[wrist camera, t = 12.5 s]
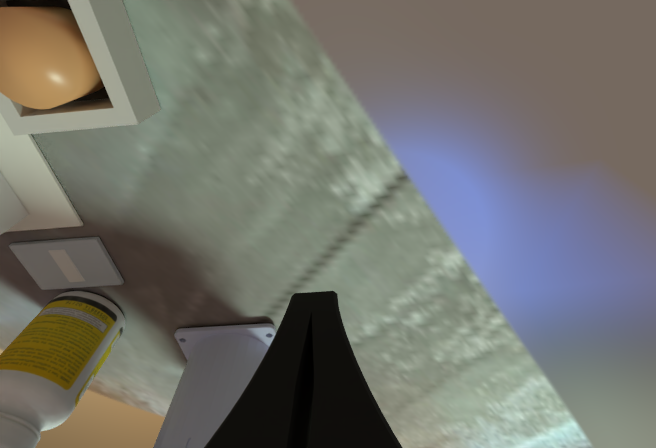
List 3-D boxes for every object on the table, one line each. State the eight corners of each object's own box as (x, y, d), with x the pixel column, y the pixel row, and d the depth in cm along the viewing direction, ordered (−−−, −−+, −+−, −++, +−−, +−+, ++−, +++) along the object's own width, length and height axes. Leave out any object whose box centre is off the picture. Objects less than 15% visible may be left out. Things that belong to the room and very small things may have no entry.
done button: (124, 89, 16) (87, 105, 14) (54, 96, 17) (5, 112, 14) (89, 2, 14) (39, 2, 12) (10, 10, 15) (-56, 12, 12)
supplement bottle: (40, 286, 24) (-105, 429, 16) (116, 289, 25) (10, 432, 16) (68, 335, 27) (-43, 476, 19) (135, 337, 28) (53, 478, 19)
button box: (161, 109, 17) (138, 124, 15) (51, 120, 18) (14, 135, 16) (109, -35, 14) (72, -42, 12) (-25, -20, 15) (-84, -23, 12)
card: (124, 281, 24) (121, 285, 24) (44, 287, 24) (41, 290, 24) (98, 236, 22) (95, 239, 22) (11, 243, 22) (7, 246, 22)
